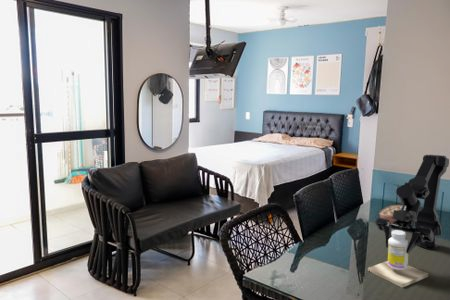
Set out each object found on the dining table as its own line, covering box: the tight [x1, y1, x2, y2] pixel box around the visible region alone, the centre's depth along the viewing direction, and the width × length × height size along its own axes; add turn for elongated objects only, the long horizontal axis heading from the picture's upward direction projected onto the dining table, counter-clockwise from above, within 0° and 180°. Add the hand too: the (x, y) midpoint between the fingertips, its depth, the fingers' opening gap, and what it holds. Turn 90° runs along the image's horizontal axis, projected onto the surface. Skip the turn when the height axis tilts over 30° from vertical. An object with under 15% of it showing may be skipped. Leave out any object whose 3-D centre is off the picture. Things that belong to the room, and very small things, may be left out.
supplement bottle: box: [387, 229, 410, 270], centre depth 128 cm, size 7×7×13 cm
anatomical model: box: [379, 204, 403, 224], centre depth 186 cm, size 23×10×5 cm, turn 135°
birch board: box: [367, 260, 429, 289], centre depth 129 cm, size 14×14×1 cm
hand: (396, 250), depth 127 cm, fingers closed on supplement bottle, 7 cm apart
